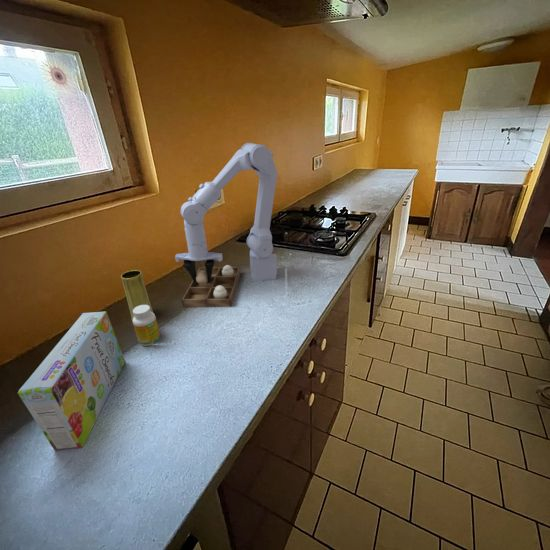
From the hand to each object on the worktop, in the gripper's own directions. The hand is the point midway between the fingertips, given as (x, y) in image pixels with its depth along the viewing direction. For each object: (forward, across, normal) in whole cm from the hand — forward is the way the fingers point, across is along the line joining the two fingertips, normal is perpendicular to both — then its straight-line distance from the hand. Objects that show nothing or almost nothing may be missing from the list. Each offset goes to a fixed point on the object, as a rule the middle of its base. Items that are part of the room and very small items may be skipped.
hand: (202, 280), depth 99 cm
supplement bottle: (+4, +8, +25) cm, 27 cm away
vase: (+4, +14, +15) cm, 21 cm away
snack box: (+4, +12, +44) cm, 46 cm away
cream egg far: (+3, -7, -7) cm, 11 cm away
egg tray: (+4, -4, 0) cm, 5 cm away
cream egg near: (+3, -7, +7) cm, 11 cm away
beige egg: (+1, 0, 0) cm, 1 cm away
